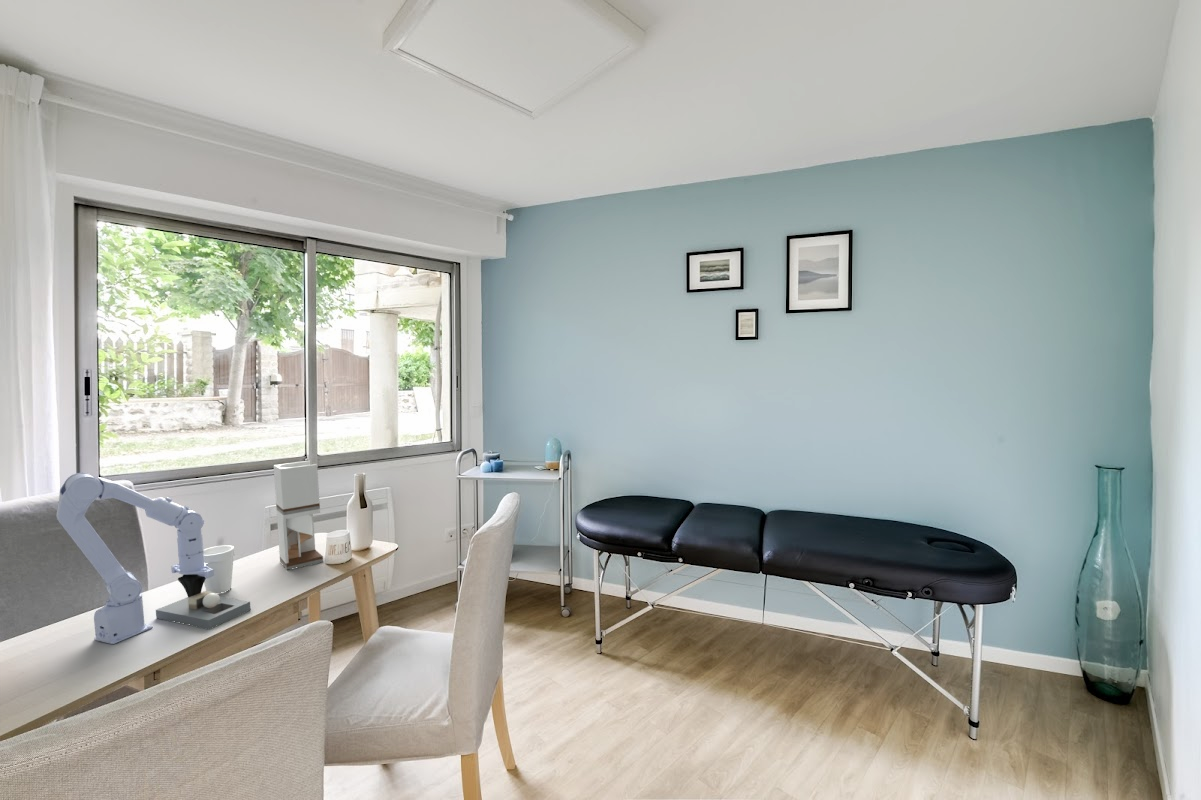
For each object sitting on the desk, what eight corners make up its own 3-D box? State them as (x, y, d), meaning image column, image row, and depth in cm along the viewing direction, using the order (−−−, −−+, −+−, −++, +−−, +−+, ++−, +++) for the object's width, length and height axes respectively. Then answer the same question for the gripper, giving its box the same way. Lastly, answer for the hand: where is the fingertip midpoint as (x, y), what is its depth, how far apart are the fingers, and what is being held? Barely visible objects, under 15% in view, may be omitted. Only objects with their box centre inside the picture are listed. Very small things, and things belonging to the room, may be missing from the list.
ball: (200, 610, 156) (210, 610, 155) (197, 596, 156) (207, 596, 154) (214, 604, 160) (224, 604, 158) (212, 590, 160) (221, 590, 158)
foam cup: (244, 585, 179) (241, 545, 178) (221, 597, 170) (218, 555, 169) (216, 584, 180) (213, 545, 179) (193, 596, 171) (189, 555, 170)
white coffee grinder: (287, 570, 191) (280, 469, 188) (280, 562, 199) (273, 465, 196) (323, 561, 199) (317, 464, 196) (314, 554, 207) (309, 460, 204)
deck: (208, 629, 149) (208, 620, 149) (156, 618, 157) (155, 609, 156) (250, 610, 161) (250, 601, 160) (199, 600, 168) (199, 592, 168)
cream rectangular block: (197, 609, 156) (196, 599, 155) (188, 608, 157) (187, 597, 157) (214, 602, 160) (214, 592, 160) (206, 600, 162) (205, 590, 161)
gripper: (223, 550, 160) (226, 596, 161) (187, 545, 165) (191, 590, 166) (198, 558, 153) (201, 607, 154) (162, 553, 158) (166, 600, 159)
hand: (194, 599), depth 159 cm, fingers closed
